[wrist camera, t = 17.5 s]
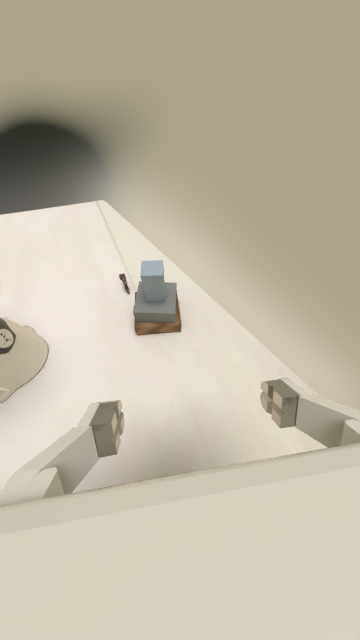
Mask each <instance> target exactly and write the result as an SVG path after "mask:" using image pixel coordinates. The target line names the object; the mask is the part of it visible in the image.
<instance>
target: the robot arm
mask: <svg viewBox="0 0 360 640" xmlns="http://www.w3.org/2000/svg"><path fill="white" fill-rule="evenodd" d="M47 355H48V346H47V343H46V341H45V340H44V339H43V338H42V337H40V336H38V335H37V334H35V331H34V329H33V328H32V327H30V326H21V325H19V324H17V323H16V322H14V321H12V320H10V319H8V318H5V317H1V318H0V403H1V402H3V401H5V400H6V399H7V398H8V397H9V396H10V395H11V394H12V393H13V392H14V391H15V390H16V389H17V388H19V387H20V386H22V385H23V384H25V383H27V382H28V381H29V380H31V379H32V378H33V377H34V376H35V375H36V374H37V373H38V372H39V371H40V369H41V368H42V366H43V365H44V363H45V361H46V358H47ZM261 389H262V390H263V392H262V393H261V395H260V400H261V404H262V406H263V408H264V409H265V411H266V412H268V413H270V414H271V415H272V419H273V420H274V422H275V423H276V424H277V425H278V427H279V428H285V427H293V426H295V427H296V428H298V429H299V430H301V431H302V432H304V433H306V434H307V435H309V436H310V437H312V438H313V439H315V440H317V441H318V442H320V443H321V444H323V445H325V446H326V447H328V448H325V449H319V450H314V451H308V452H303V453H297V454H291V455H286V456H280V457H274V458H269V459H263V460H257V461H252V462H246V463H240V464H235V465H229V466H223V467H218V468H212V469H206V470H201V471H195V472H189V473H184V474H178V475H173V476H167V477H161V478H156V479H150V480H145V481H139V482H134V483H128V484H122V485H116V486H111V487H105V488H99V489H93V490H88V491H82V492H77V493H72V492H73V491H74V489H75V488H76V487H77V486H78V484H79V483H80V482H81V481H82V479H83V478H84V477H85V476H86V474H87V473H88V472H89V471H90V469H91V468H92V467H93V466H94V464H95V463H96V462H97V461H98V459H99V458H100V457H105V456H110V455H116V454H117V453H118V449H119V445H120V435H121V434H122V433H123V429H124V414H123V413H122V412H121V409H122V403H121V401H120V400H115V401H106V402H97V403H92V404H90V405H89V407H88V409H87V410H86V412H85V414H84V416H83V417H82V419H81V421H80V422H79V424H78V426H77V428H73V429H72V430H70V431H69V432H68V433H66V434H65V435H64V436H62V437H61V438H60V439H59V440H57V441H56V442H55V443H53V444H52V445H51V446H49V447H48V448H47V449H45V450H44V451H43V452H41V453H40V454H39V455H38V456H36V457H35V458H34V459H32V460H31V461H30V462H28V463H27V464H26V465H24V466H23V467H22V468H20V469H19V470H18V471H16V472H15V473H14V475H13V476H12V477H11V479H10V480H9V481H8V483H7V484H6V485H5V486H4V488H3V489H2V490H1V492H0V640H360V411H359V410H356V409H353V408H351V407H348V406H345V405H342V404H339V403H336V402H334V401H331V400H328V399H325V398H322V397H319V396H316V395H314V394H311V395H310V394H309V393H308V392H306V391H305V390H304V389H302V388H301V387H300V386H298V385H297V384H296V383H294V382H293V381H291V380H290V379H288V378H282V379H278V380H271V381H263V382H262V383H261Z"/></svg>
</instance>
